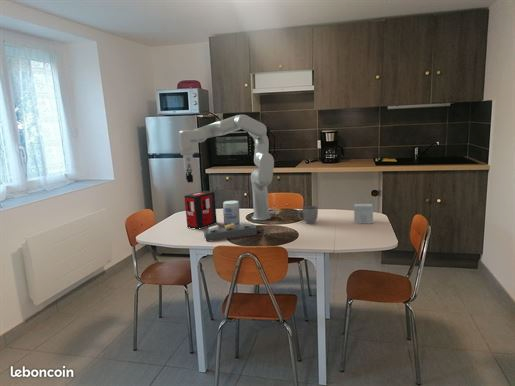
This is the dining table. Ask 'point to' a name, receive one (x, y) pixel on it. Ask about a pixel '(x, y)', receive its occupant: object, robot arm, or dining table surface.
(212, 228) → the rocker
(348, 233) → the dining table surface
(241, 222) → the rocker
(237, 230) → the power strip
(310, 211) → the mug
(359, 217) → the skincare box
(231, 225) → the rocker middle
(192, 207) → the cleaning product box
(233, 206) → the supplement tub
